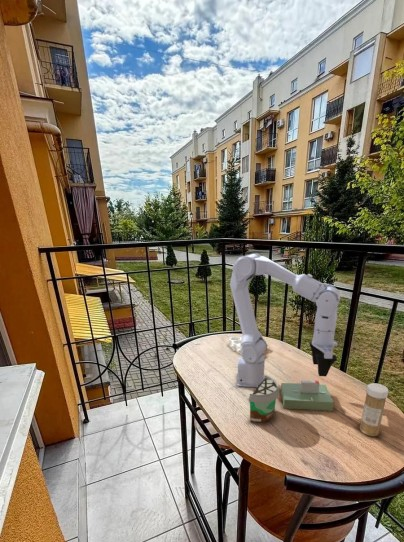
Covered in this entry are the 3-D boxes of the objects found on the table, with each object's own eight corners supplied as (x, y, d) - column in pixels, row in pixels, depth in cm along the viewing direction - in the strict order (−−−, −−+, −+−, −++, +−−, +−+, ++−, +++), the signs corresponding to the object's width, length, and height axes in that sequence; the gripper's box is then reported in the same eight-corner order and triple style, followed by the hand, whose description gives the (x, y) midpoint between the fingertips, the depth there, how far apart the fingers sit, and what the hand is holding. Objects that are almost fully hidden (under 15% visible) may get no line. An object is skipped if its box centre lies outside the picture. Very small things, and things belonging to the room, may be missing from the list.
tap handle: (300, 392, 87) (301, 381, 86) (300, 390, 88) (301, 379, 87) (318, 393, 86) (319, 382, 85) (317, 391, 88) (318, 380, 86)
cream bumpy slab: (272, 351, 124) (246, 360, 117) (246, 339, 138) (221, 346, 132) (272, 344, 123) (246, 352, 116) (246, 333, 137) (221, 339, 130)
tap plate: (283, 408, 85) (284, 399, 84) (280, 390, 94) (281, 382, 93) (332, 411, 83) (334, 402, 82) (324, 392, 92) (325, 384, 91)
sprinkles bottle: (382, 432, 74) (392, 388, 69) (373, 439, 71) (383, 394, 67) (364, 423, 77) (373, 380, 72) (355, 429, 75) (363, 386, 70)
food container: (269, 432, 75) (271, 400, 72) (248, 425, 79) (248, 394, 75) (283, 408, 85) (285, 379, 82) (263, 402, 88) (265, 374, 85)
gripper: (347, 337, 75) (340, 382, 80) (332, 321, 88) (327, 359, 93) (319, 337, 76) (314, 381, 81) (308, 320, 89) (304, 359, 94)
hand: (319, 369), depth 87 cm, fingers open, 7 cm apart
